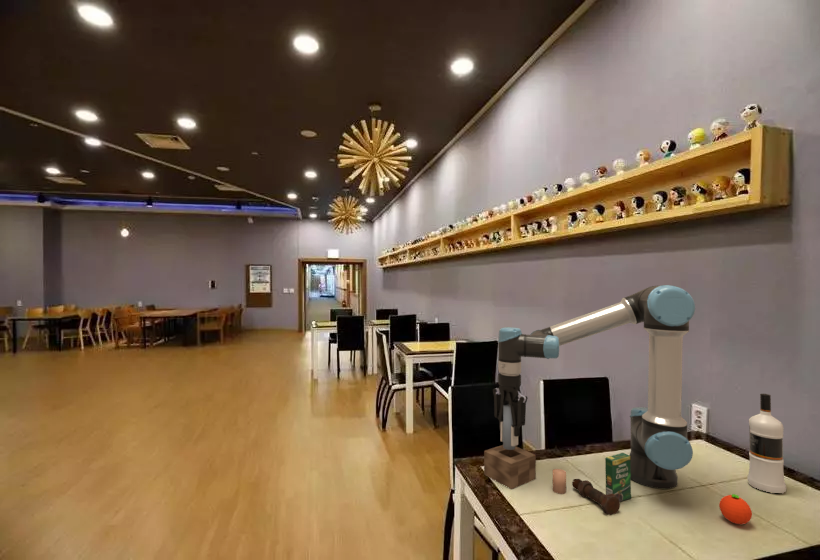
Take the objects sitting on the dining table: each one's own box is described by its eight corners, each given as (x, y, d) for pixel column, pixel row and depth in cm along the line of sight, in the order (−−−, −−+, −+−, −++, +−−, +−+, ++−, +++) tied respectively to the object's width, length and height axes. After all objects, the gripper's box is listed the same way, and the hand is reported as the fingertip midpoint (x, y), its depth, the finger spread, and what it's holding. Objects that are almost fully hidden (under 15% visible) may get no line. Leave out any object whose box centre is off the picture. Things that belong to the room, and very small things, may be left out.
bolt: (577, 494, 126) (615, 519, 112) (566, 488, 125) (603, 512, 110) (584, 476, 127) (622, 499, 113) (573, 470, 126) (610, 492, 112)
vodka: (781, 498, 120) (779, 399, 121) (742, 485, 128) (741, 392, 129) (790, 490, 125) (789, 395, 126) (753, 478, 133) (752, 388, 134)
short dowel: (568, 491, 124) (568, 472, 124) (561, 495, 122) (561, 475, 122) (557, 486, 127) (557, 467, 127) (549, 489, 125) (549, 470, 125)
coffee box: (612, 505, 116) (612, 460, 116) (604, 500, 119) (604, 456, 119) (631, 499, 119) (631, 455, 120) (623, 494, 122) (623, 451, 122)
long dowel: (517, 448, 133) (518, 406, 133) (509, 450, 131) (509, 408, 131) (508, 444, 136) (508, 403, 136) (500, 446, 134) (500, 405, 134)
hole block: (535, 479, 132) (535, 455, 132) (511, 489, 125) (511, 463, 125) (508, 465, 142) (508, 443, 142) (484, 474, 135) (484, 450, 135)
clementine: (719, 510, 114) (719, 485, 114) (751, 519, 109) (751, 493, 109) (718, 523, 108) (718, 496, 108) (752, 533, 103) (752, 505, 103)
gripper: (483, 370, 139) (483, 437, 138) (522, 379, 125) (521, 454, 124) (498, 367, 143) (498, 432, 143) (537, 377, 129) (537, 449, 129)
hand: (509, 442), depth 134 cm, fingers closed on long dowel, 4 cm apart
